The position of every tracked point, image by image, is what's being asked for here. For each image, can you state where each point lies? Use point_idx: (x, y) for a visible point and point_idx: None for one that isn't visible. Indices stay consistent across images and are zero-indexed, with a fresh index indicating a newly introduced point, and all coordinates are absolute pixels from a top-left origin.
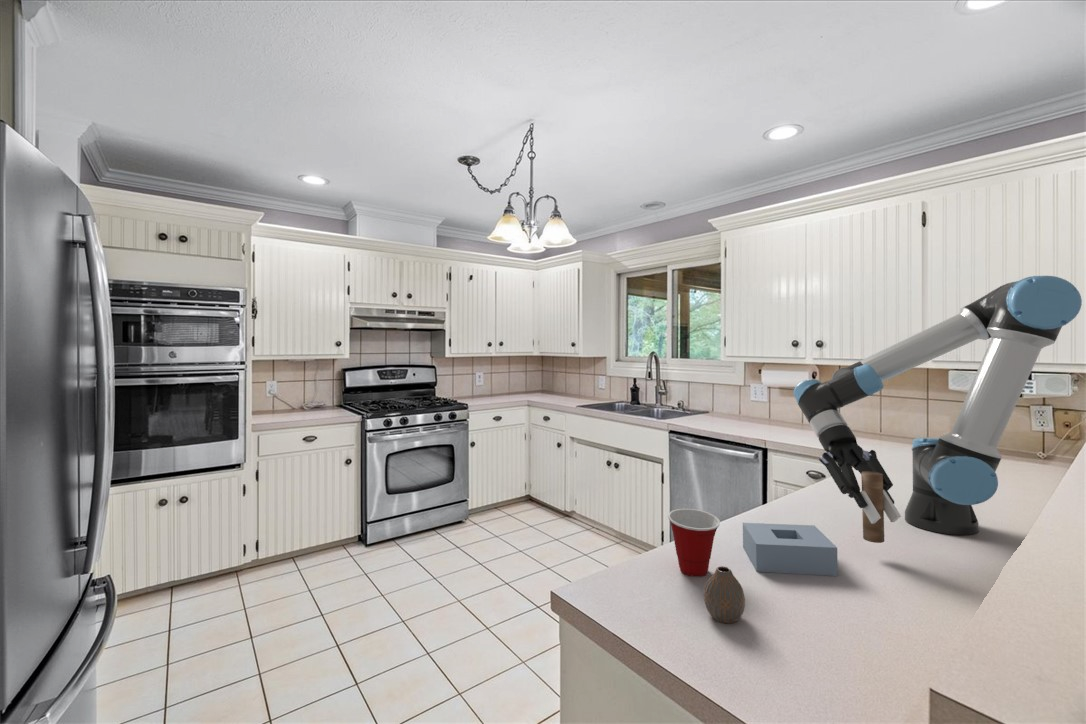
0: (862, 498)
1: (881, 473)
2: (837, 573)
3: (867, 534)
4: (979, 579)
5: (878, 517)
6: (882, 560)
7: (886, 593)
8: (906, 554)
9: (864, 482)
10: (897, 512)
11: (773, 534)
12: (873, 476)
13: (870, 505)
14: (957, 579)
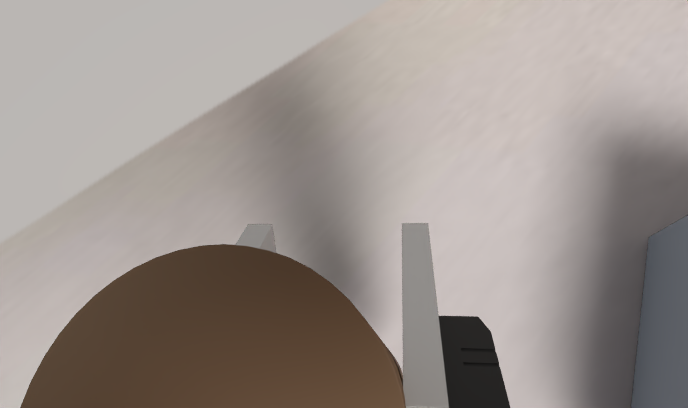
0: (458, 367)
1: (29, 388)
2: (653, 235)
3: (402, 374)
4: (154, 161)
5: (421, 223)
6: None
7: (537, 103)
8: None
9: None
10: (248, 239)
11: None
12: (314, 274)
13: (432, 282)
14: (220, 168)
